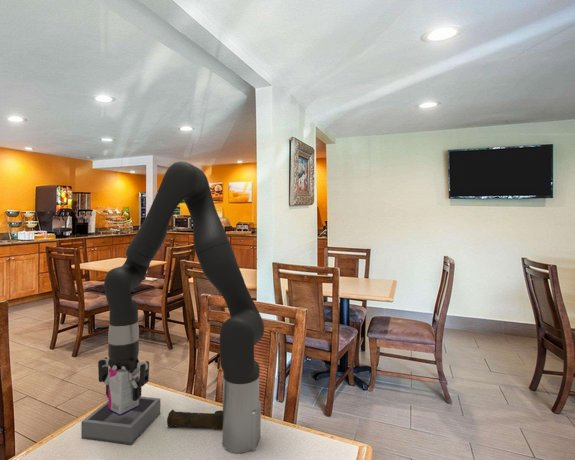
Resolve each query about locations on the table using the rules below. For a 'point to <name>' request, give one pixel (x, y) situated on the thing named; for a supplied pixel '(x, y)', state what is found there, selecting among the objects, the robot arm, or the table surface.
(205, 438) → the table surface
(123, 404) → the supplement box
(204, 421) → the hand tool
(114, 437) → the bin
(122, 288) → the robot arm
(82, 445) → the table surface
